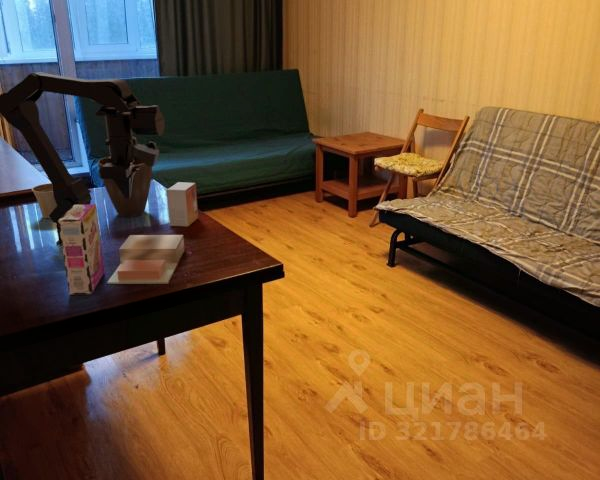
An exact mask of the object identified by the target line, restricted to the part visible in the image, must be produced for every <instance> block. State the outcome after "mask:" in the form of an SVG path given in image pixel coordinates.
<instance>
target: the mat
mask: <svg viewBox="0 0 600 480" xmlns="http://www.w3.org/2000/svg"><path fill="white" fill-rule="evenodd" d="M121 265H122V264H121V263H120V264H119V266H118V267H117V268H116V270H115V271H114V272H113V274H112V275H111V276H110V277H109V279H108V281H106V282H107V283H106V284H107V285H123V284H124V285H125V284H126V285H133V284H134V285H135V284H136V285H140V284H141V285H142V284H143V285H145V284H146V285H147V284H148V285H153V284H155V285H157V284H159V285H160V284H162V285H163V284H167V285H169V282H170V280H171V278H172V276H173V274H174V272H175V270H176V268H177V267H178V264H177V263H165V265H166V268H165V270H164V272H163V274H162V276H161V278H160V279H126V280H118V274H117V271H118V269H119V268H120V266H121Z"/></svg>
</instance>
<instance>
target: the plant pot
mask: <svg viewBox="0 0 600 480" xmlns="http://www.w3.org/2000/svg"><path fill="white" fill-rule="evenodd" d="M109 157H110V156H107V157H104V158H101V159H98V161H97V164H98V167H99V169H100V168H101V167H102V166H103V165H105V164H106V163H114V162H108V158H109ZM132 164H134V167H140V169H139V170H138V171H137V172H136V173H135V174H134V177H133V183H132V190H131V196H130V198H125V197H124V195H123V194H122V192H121V191H120V189H119V188H118V186H117V185H116V183H115V182H114V181H113V179H102V182H103V185H104V187H105V189H106V190H105V191H106V192H107V194H108V197H109V199H110V201H111V203H112V206H113V208H114V209H115V211H116V213H117V214H118V216H119V217H123V218H133V217H138V216H141V215H143V214H144V213H145V210H146V206H147V202H148V199H149V195H150V189H151V183H152V177H153V176H152V175H153V174H152V173H153V166H147V165H146V164H144V163H141V162H138V161H134V162H133V163H132Z"/></svg>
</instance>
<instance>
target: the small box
mask: <svg viewBox="0 0 600 480" xmlns="http://www.w3.org/2000/svg"><path fill="white" fill-rule="evenodd" d="M196 184H197V183H196V182H187V181H186V182H185V181H184V182H182V181H178V182H176V183H175V184H174V185H171V186H170V187H169V188H167V189H166V198H167V199H166V200H167V202H166V203H167V212H168V221H169V226H170V227H172V226H173V227H190V226H191V224H192V223H194V222H195V221H196V220H197V219H199V210H198V198H197V197H198V195H197V185H196Z"/></svg>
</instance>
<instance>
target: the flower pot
mask: <svg viewBox="0 0 600 480" xmlns="http://www.w3.org/2000/svg"><path fill="white" fill-rule="evenodd" d="M31 191H32V192H33V194H34V196H35V197H36V201H37V204H38V206H39V210H40V213H41V217H42V218H44V219H50V217H49V215H50V213H51V212H52V211H53V210H54V209H55V208H56V207H57V204H56V202H55V200H54V197H53V186H52V183H51V182H50V183H44V184H39V185H36V186H33V187H32V188H31Z"/></svg>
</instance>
